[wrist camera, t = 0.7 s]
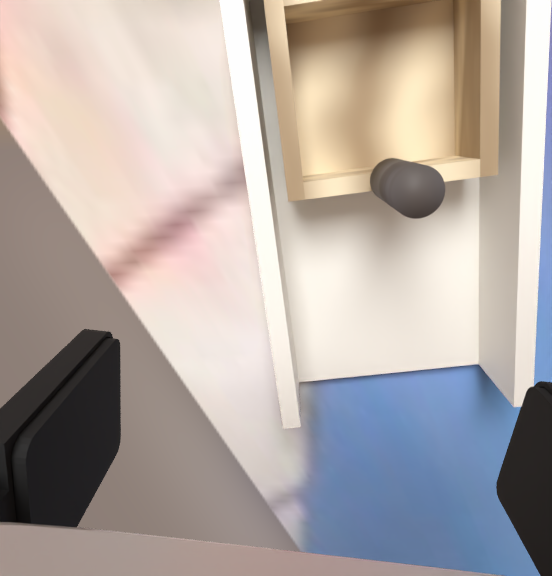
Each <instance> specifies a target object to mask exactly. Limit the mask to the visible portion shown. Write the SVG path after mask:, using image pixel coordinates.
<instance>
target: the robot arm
mask: <svg viewBox="0 0 552 576" xmlns="http://www.w3.org/2000/svg"><path fill="white" fill-rule="evenodd" d="M120 426H121V425H120V342H119V340H118V339H113V337H112V334H111V333H110V332H106V331H97V330H89V329H88V330H87V329H84V330H82V331H81V332H80V333H79V334H78V335H77V336H76V337H75V338H74V339H73V340H72V341H71V342H70V343H69V344H68V345H67V346H66V347H65V348H63V349H62V350H61V351H60V352H59V353H58V354H57V355H56V356H55V357H54V358H53V359H52V360H51V361H50V362H49V363H48V364H47V365H46V366H45V367H43V368H42V369H41V370H40V371H39V372H38V373H37V374H36V375H35V376H34V377H33V378H32V379H31V380H30V381H29V382H28V383H27V384H26V385H25V386H24V387H23V388H21V389H20V390H19V391H18V392H17V393H16V394H15V395H14V396H13V397H12V398H11V399H10V400H9V401H8V402H7V403H6V404H5V405H4V406H3V407H2V408H0V576H503V575H495V574H486V573H478V572H469V571H461V570H452V569H444V568H435V567H427V566H418V565H410V564H401V563H393V562H384V561H375V560H366V559H358V558H349V557H340V556H331V555H322V554H314V553H305V552H296V551H288V550H279V549H270V548H261V547H253V546H244V545H235V544H226V543H217V542H207V541H199V540H190V539H181V538H172V537H163V536H154V535H144V534H135V533H126V532H117V531H108V530H99V529H90V528H77V526H78V524H79V522H80V520H81V518H82V516H83V515H84V513H85V511H86V509H87V507H88V506H89V503H90V502H91V500H92V498H93V497H94V495H95V493H96V491H97V489H98V487H99V486H100V484H101V482H102V480H103V478H104V476H105V474H106V473H107V471H108V469H109V467H110V465H111V463H112V462H113V460H114V458H115V456H116V454H117V452H118V449H119V445H120V435H121V433H120V432H121V427H120ZM496 488H497V495H498V498H499V500H500V502H501V504H502V506H503V507H504V509H505V511H506V513H507V515H508V517H509V518H510V520H511V522H512V524H513V526H514V528H515V529H516V531H517V533H518V535H519V537H520V539H521V540H522V542H523V544H524V546H525V548H526V550H527V551H528V553H529V555H530V557H531V559H532V561H533V562H534V564H535V566H536V568H537V570H538V572H539V573H540V575H541V576H552V383H551V382H542V381H540V382H538V383H537V384H536V385H535V386H534V387H530V388H529V389H528V390H527V392H526V394H525V397H524V400H523V403H522V406H521V410H520V413H519V416H518V419H517V422H516V425H515V428H514V431H513V434H512V437H511V440H510V443H509V446H508V449H507V452H506V455H505V458H504V461H503V464H502V467H501V471H500V474H499V477H498V480H497V486H496Z"/></svg>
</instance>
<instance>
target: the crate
mask: <svg viewBox="0 0 552 576" xmlns="http://www.w3.org/2000/svg"><path fill="white" fill-rule="evenodd" d="M264 8H265V17H266V25H267V33H268V41H269V49H270V57H271V66H272V74H273V82H274V90H275V98H276V106H277V115H278V123H279V131H280V139H281V147H282V155H283V164H284V172H285V180H286V188H287V196H288V202H291V201H298V200H306V199H314V198H322V197H330V196H337V195H345V194H353V193H361V192H368V191H373V193H374V194H375V195H376V196H377V197H378V198H380V199H381V200H383V201H384V202H385V203H387V204H388V205H390V206H391V207H392V208H394V209H395V210H396V211H398V212H399V213H401V214H402V215H404V216H406V217H408V218H413V219H419V218H424V217H427V216H429V215H431V214H432V213H434V212H435V211H436V210H437V209H438V208H439V206H440V205H441V203H442V201H443V199H444V196H445V183H444V182H446V181H454V180H462V179H470V178H477V177H485V176H493V175H498V148H499V87H500V26H501V0H264Z"/></svg>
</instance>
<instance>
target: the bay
mask: <svg viewBox="0 0 552 576" xmlns="http://www.w3.org/2000/svg"><path fill="white" fill-rule="evenodd" d="M219 1H220V7H221V14H222V21H223V28H224V34H225V41H226V48H227V55H228V61H229V68H230V75H231V82H232V88H233V95H234V102H235V109H236V115H237V122H238V129H239V136H240V142H241V149H242V156H243V163H244V169H245V176H246V183H247V190H248V196H249V203H250V210H251V217H252V223H253V230H254V237H255V243H256V250H257V257H258V264H259V270H260V277H261V284H262V291H263V297H264V304H265V311H266V318H267V324H268V331H269V338H270V345H271V351H272V358H273V365H274V372H275V378H276V385H277V392H278V399H279V405H280V412H281V419H282V426H283V429H288V428H299V427H301V422H300V393H299V382H307V381H316V380H326V379H336V378H346V377H356V376H366V375H376V374H386V373H395V372H405V371H415V370H425V369H435V368H445V367H455V366H465V365H475V364H479V365H480V366H481V368H482V369H483V370H484V371H485V373H486V374H487V375H488V376H489V377H490V379H491V380H492V381H493V382H494V384H495V385H496V386H497V387H498V388H499V390H500V391H501V392H502V393H503V395H504V396H505V397H506V398H507V399H508V401H509V402H510V403H511V404H512V406H513V407H521V406H522V403H523V400H524V397H525V394H526V392H527V390H528V389H529V388H530V387H534V367H535V345H536V323H537V301H538V279H539V257H540V236H541V214H542V192H543V170H544V148H545V126H546V104H547V82H548V61H549V39H550V17H551V0H501V26H500V87H499V148H498V175H493V176H485V177H477V178H470V179H462V180H454V181H446V182H444V183H445V196H444V199H443V201H442V203H441V205H440V206H439V208H438V209H437V210H436V211H435V212H434V213H432V214H431V215H429V216H427V217H424V218H419V219H413V218H408V217H406V216H404V215H402V214H401V213H399V212H398V211H396V210H395V209H394V208H392V207H391V206H390V205H388V204H387V203H385V202H384V201H383V200H381V199H380V198H378V197H377V196H376V195H375V194H374V193H373V191H368V192H361V193H353V194H345V195H337V196H330V197H322V198H314V199H306V200H298V201H291V202H288V196H287V188H286V180H285V172H284V164H283V155H282V147H281V139H280V131H279V123H278V115H277V106H276V98H275V90H274V82H273V74H272V66H271V57H270V49H269V41H268V33H267V25H266V17H265V8H264V0H219Z"/></svg>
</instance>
